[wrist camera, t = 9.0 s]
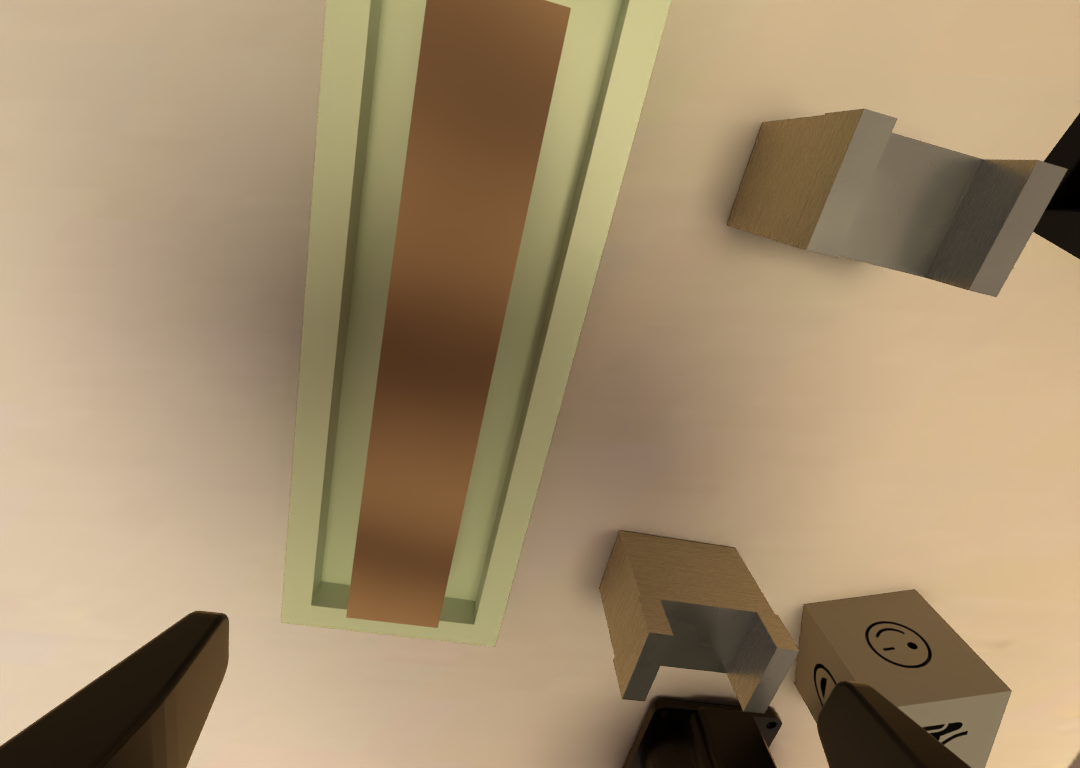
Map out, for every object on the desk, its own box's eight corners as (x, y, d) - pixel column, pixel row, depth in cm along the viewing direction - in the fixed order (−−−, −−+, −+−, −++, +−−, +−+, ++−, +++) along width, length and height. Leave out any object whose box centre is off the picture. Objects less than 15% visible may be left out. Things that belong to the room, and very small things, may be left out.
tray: (495, 612, 23) (494, 646, 21) (296, 588, 22) (280, 622, 20) (668, -40, 14) (688, -63, 13) (358, -140, 13) (338, -179, 12)
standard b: (869, 260, 18) (996, 297, 13) (723, 223, 17) (806, 250, 13) (912, 164, 17) (1067, 168, 12) (760, 121, 16) (864, 108, 11)
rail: (445, 565, 21) (438, 627, 18) (366, 555, 21) (346, 617, 18) (557, 35, 14) (571, 7, 12) (444, 2, 14) (430, -34, 11)
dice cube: (913, 588, 24) (1011, 690, 19) (896, 667, 26) (981, 778, 21) (802, 603, 24) (875, 709, 19) (793, 681, 26) (856, 796, 21)
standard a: (712, 603, 23) (764, 713, 19) (596, 588, 23) (622, 699, 18) (737, 548, 22) (799, 651, 18) (617, 530, 22) (649, 632, 17)
